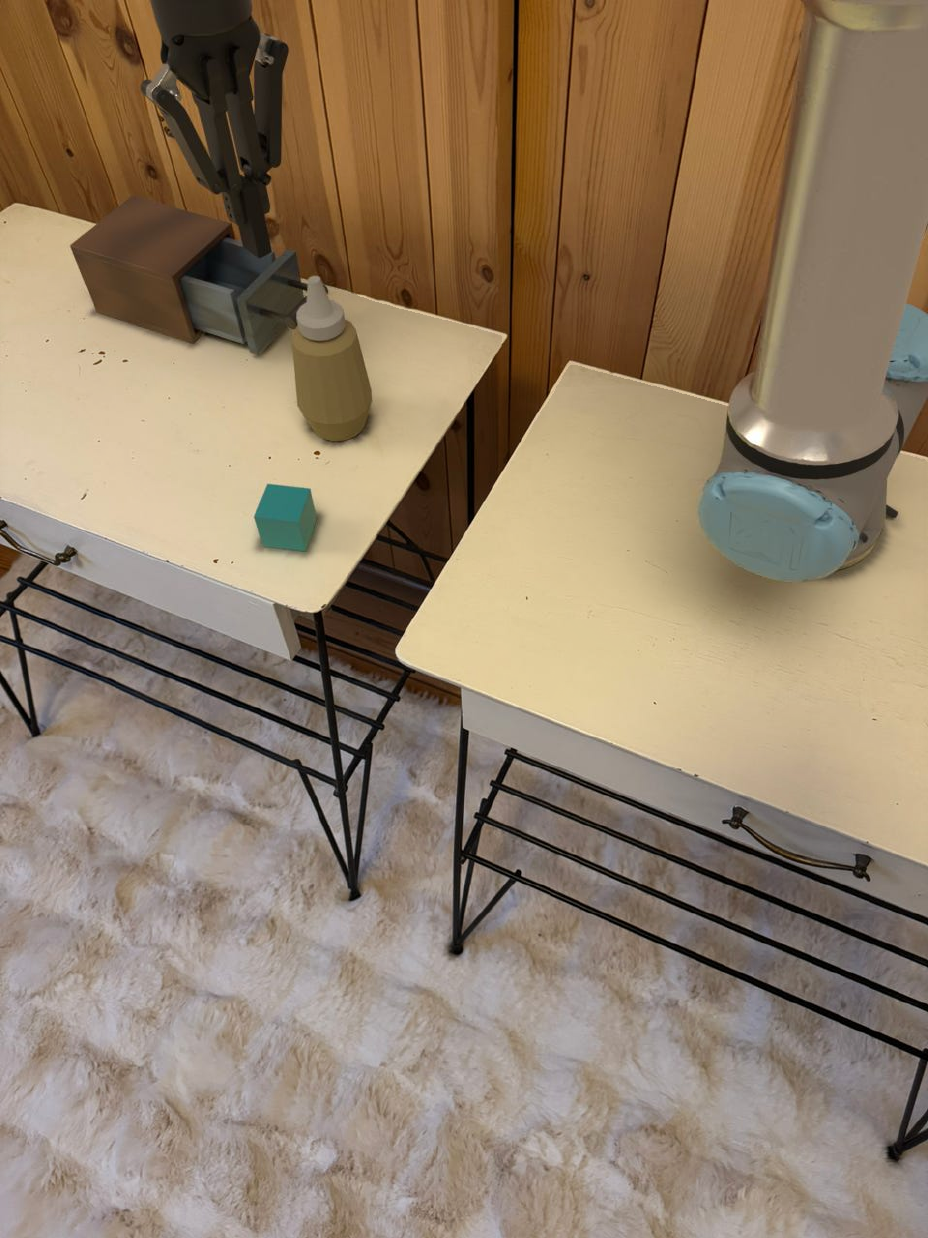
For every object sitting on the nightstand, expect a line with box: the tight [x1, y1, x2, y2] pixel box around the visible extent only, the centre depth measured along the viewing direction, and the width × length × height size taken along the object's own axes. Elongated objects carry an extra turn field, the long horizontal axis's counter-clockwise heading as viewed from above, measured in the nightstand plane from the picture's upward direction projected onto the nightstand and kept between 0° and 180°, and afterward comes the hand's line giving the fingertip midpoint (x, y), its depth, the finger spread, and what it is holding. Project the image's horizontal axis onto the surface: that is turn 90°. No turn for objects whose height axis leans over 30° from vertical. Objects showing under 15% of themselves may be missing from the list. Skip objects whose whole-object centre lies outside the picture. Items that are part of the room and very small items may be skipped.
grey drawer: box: [178, 237, 329, 356], centre depth 107 cm, size 18×10×7 cm, turn 64°
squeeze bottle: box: [291, 275, 373, 442], centre depth 93 cm, size 8×8×18 cm
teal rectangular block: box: [253, 483, 318, 552], centre depth 90 cm, size 4×4×4 cm
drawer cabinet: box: [69, 195, 236, 345], centre depth 110 cm, size 15×12×9 cm
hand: (257, 249), depth 87 cm, fingers closed
